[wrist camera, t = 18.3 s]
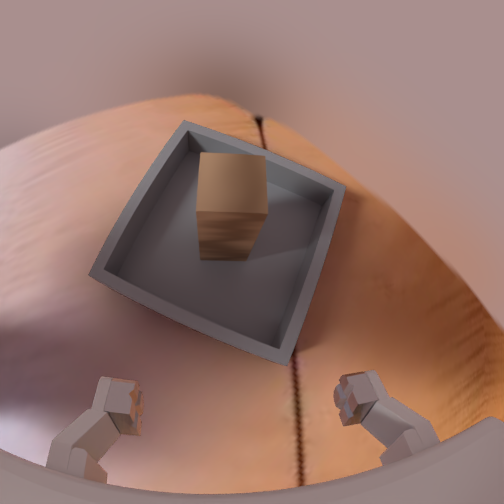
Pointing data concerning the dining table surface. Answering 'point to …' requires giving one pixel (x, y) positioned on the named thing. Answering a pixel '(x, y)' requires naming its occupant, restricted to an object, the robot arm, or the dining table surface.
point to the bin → (223, 272)
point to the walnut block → (230, 204)
